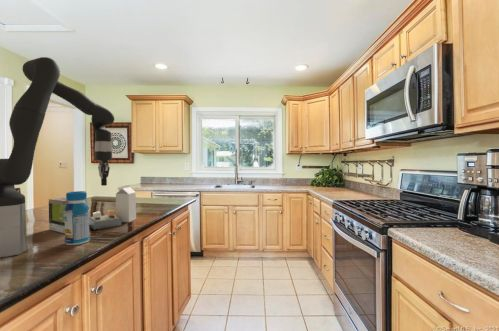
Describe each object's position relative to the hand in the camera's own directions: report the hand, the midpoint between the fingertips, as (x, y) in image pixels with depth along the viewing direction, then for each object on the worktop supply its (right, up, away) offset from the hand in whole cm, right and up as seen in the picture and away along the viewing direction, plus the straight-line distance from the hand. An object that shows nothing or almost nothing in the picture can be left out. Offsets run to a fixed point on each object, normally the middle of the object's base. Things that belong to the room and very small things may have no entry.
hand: (104, 185), depth 132 cm
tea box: (-13, -21, -7) cm, 25 cm away
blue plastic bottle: (+5, -21, -28) cm, 35 cm away
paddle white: (-2, -15, -2) cm, 15 cm away
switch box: (0, -20, 0) cm, 20 cm away
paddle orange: (+2, -14, +2) cm, 15 cm away
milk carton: (+7, -20, +9) cm, 23 cm away
